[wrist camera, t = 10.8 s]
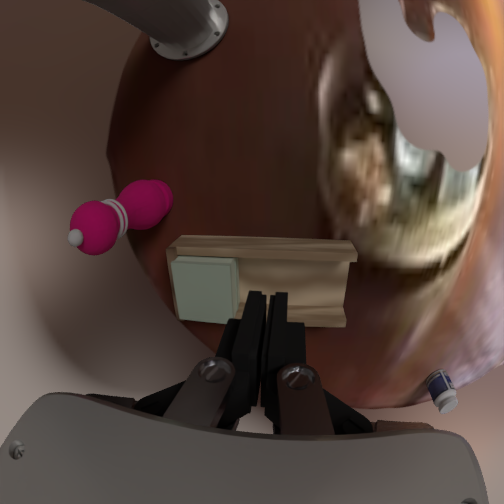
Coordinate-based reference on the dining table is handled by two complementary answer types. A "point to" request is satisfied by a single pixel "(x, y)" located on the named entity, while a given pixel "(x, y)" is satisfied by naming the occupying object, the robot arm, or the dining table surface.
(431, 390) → the pill bottle
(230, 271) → the grey-green block
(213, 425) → the robot arm
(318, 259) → the bay
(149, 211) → the pepper mill
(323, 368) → the dining table surface
